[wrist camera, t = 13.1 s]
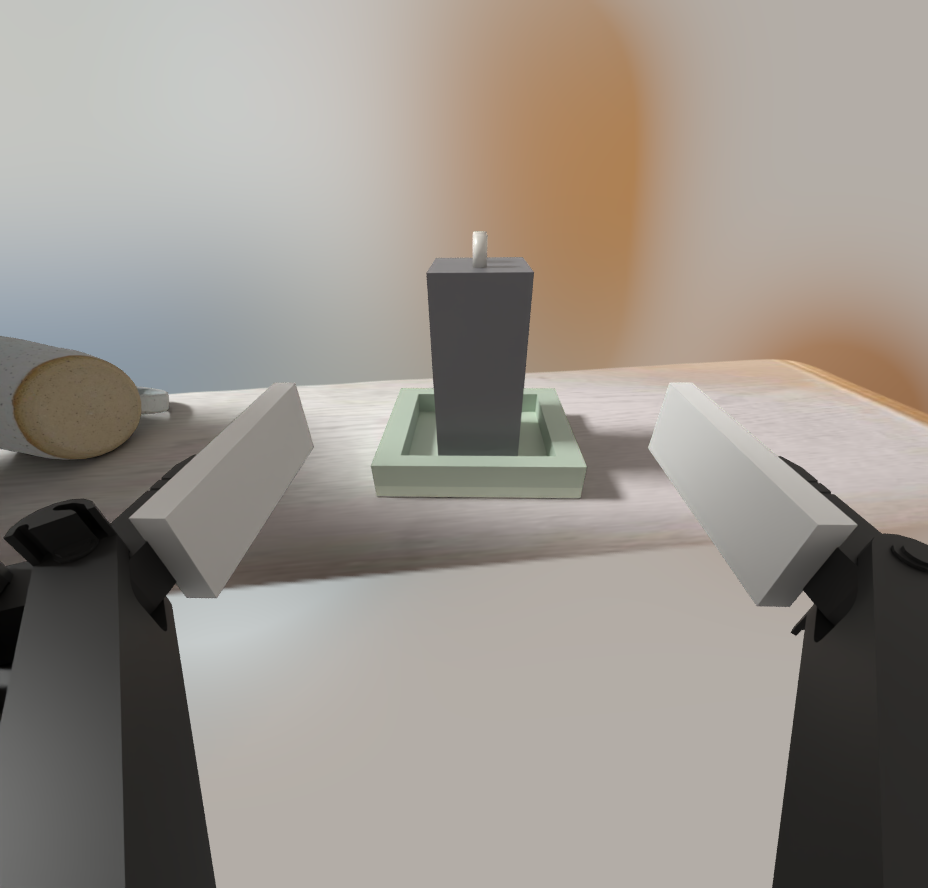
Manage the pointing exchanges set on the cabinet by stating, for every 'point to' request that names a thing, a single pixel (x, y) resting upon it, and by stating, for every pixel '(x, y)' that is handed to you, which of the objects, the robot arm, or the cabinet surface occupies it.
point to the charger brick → (479, 350)
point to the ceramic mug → (67, 402)
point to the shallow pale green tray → (524, 476)
